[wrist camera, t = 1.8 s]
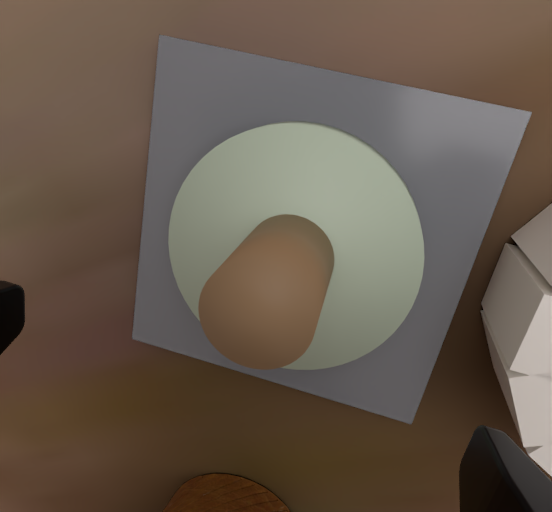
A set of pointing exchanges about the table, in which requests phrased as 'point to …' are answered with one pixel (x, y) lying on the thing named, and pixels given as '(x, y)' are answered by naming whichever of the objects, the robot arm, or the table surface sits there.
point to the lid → (296, 247)
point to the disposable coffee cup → (224, 496)
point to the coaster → (371, 129)
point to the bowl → (524, 333)
